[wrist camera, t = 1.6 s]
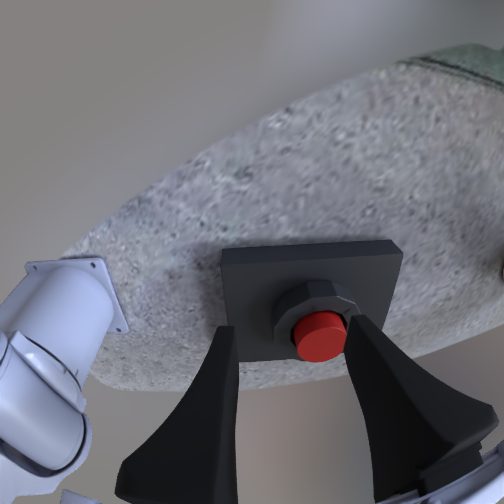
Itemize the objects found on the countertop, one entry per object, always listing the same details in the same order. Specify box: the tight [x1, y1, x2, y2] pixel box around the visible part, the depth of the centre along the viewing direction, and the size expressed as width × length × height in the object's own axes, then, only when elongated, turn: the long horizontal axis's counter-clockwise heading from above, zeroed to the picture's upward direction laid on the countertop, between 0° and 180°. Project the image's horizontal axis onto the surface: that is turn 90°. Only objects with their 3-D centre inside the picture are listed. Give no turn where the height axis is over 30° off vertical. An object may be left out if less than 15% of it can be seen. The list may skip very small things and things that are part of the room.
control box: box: [221, 240, 403, 362], centre depth 21 cm, size 13×10×4 cm
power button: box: [294, 310, 347, 362], centre depth 19 cm, size 4×4×2 cm
